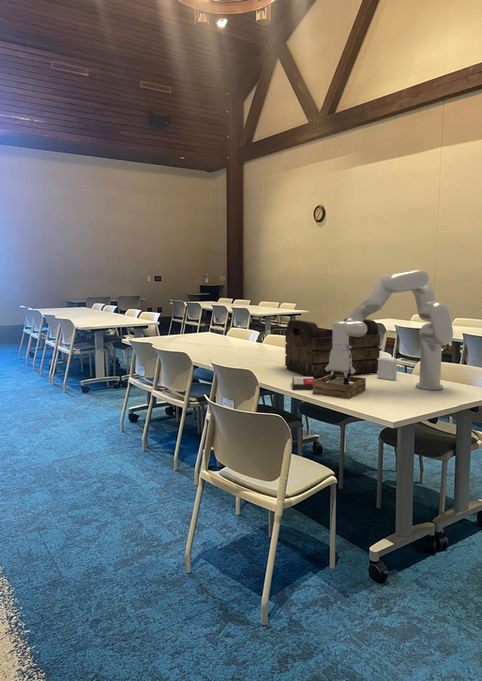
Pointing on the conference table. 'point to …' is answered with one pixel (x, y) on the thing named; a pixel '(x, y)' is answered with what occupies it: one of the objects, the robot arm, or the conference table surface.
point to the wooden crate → (328, 349)
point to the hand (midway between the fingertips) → (339, 384)
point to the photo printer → (387, 368)
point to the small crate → (338, 380)
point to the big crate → (339, 387)
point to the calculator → (303, 383)
